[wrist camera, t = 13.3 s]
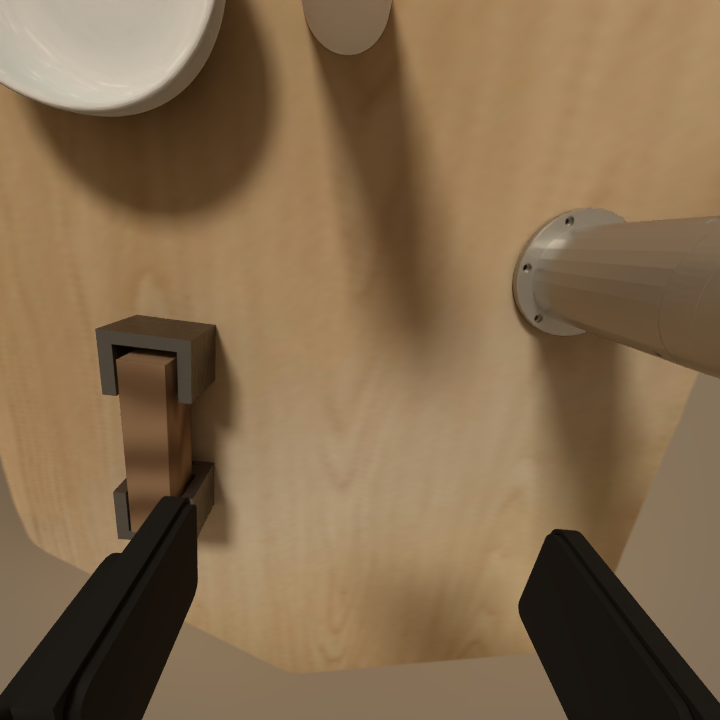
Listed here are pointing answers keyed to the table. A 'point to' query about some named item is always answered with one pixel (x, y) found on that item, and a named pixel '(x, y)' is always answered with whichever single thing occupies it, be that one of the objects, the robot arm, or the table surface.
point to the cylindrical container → (347, 23)
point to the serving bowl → (105, 51)
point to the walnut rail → (153, 430)
